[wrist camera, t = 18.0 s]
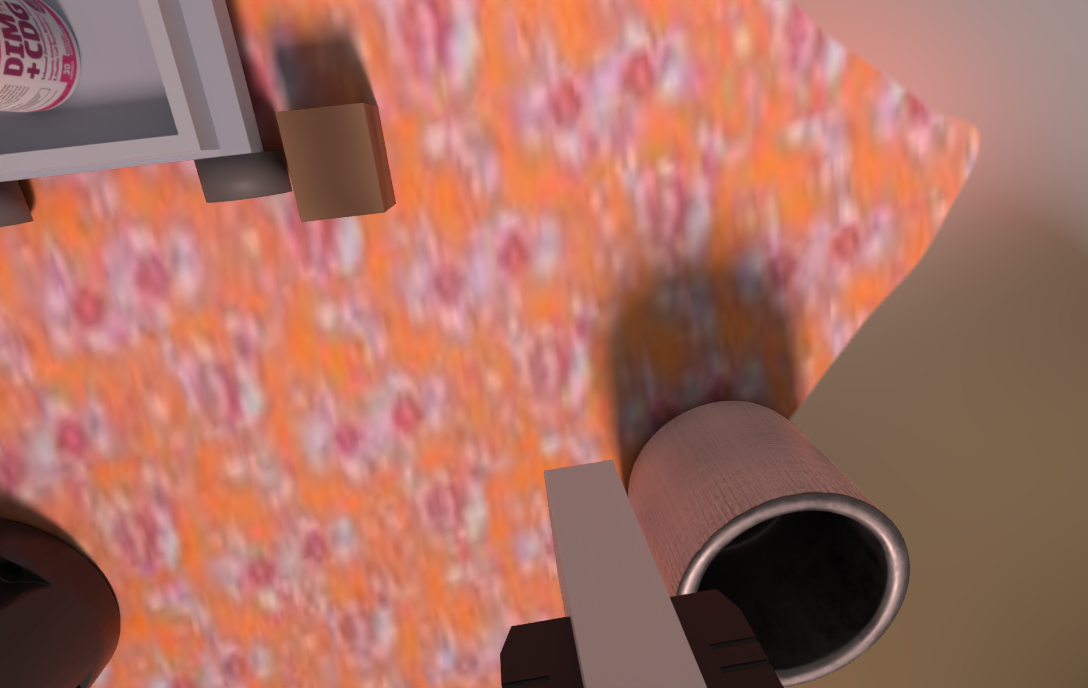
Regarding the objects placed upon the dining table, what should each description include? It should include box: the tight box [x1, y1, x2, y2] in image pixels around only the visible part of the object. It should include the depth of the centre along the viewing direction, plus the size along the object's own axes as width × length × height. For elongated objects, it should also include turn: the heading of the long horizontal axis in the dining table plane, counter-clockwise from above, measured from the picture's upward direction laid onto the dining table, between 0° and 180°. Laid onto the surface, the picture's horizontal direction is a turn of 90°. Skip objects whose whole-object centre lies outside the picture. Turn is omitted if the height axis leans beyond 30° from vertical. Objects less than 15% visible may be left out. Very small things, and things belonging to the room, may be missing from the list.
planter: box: [628, 401, 910, 687], centre depth 36 cm, size 12×12×11 cm
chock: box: [275, 103, 396, 222], centre depth 30 cm, size 4×5×4 cm
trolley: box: [0, 0, 292, 227], centre depth 25 cm, size 18×14×10 cm
